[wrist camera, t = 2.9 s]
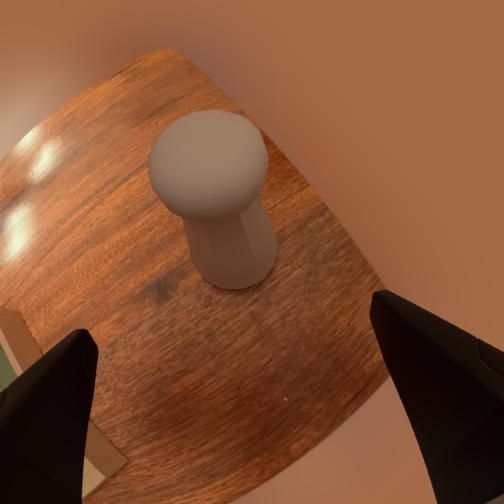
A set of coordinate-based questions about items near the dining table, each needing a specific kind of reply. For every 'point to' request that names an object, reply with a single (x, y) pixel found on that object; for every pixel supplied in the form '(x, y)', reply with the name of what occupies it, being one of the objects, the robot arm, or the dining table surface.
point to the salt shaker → (217, 194)
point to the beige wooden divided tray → (19, 360)
